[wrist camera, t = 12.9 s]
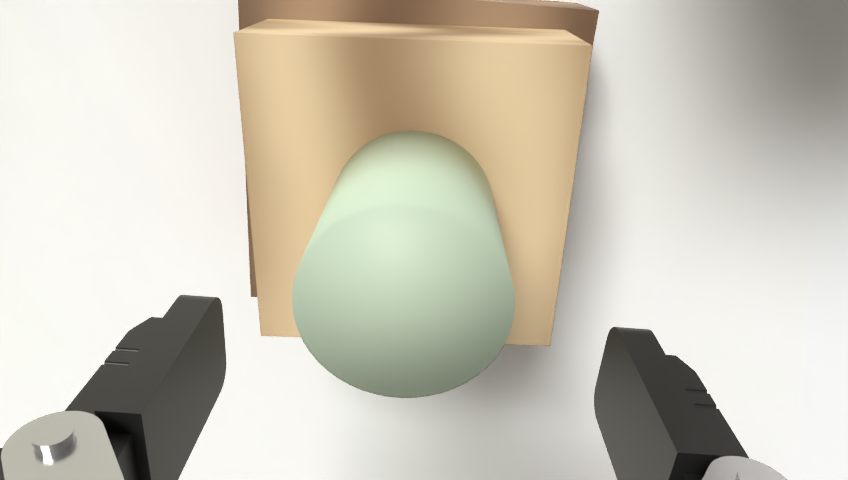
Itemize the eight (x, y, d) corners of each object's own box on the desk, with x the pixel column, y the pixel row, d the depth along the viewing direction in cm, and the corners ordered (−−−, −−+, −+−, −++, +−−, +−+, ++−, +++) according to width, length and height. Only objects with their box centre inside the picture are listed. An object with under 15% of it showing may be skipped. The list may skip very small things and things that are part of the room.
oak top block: (564, 29, 21) (592, 45, 17) (532, 288, 25) (550, 345, 21) (267, 18, 21) (233, 32, 17) (285, 280, 25) (261, 335, 21)
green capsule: (499, 133, 18) (525, 209, 13) (486, 282, 20) (504, 401, 15) (329, 127, 18) (284, 200, 13) (335, 277, 20) (298, 394, 15)
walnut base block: (573, 2, 24) (599, 10, 21) (528, 272, 29) (542, 317, 26) (266, -25, 24) (237, -21, 20) (273, 253, 29) (250, 296, 25)
